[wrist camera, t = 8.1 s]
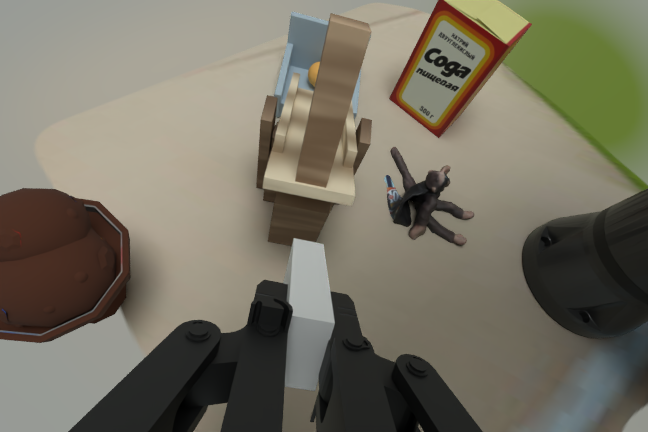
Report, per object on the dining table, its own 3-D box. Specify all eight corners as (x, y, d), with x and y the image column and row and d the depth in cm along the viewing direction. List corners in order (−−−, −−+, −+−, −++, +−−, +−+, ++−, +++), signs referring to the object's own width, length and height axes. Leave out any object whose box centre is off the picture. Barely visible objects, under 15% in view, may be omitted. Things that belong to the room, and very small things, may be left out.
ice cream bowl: (11, 273, 33) (-146, 194, 20) (135, 224, 37) (76, 133, 24) (44, 380, 30) (-115, 372, 17) (175, 313, 34) (132, 265, 21)
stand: (333, 253, 40) (366, 204, 30) (244, 237, 39) (244, 180, 28) (342, 174, 45) (372, 108, 35) (263, 157, 44) (270, 83, 33)
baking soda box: (389, 98, 53) (441, -6, 39) (412, 79, 56) (468, -24, 42) (438, 137, 52) (511, 43, 38) (459, 116, 55) (534, 21, 40)
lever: (351, 206, 27) (410, 43, 20) (262, 188, 26) (289, 10, 19) (345, 107, 43) (377, -5, 36) (288, 93, 42) (309, -24, 35)
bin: (348, 133, 48) (366, 90, 41) (272, 116, 47) (277, 68, 40) (354, 79, 53) (371, 32, 46) (285, 62, 52) (291, 11, 45)
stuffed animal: (453, 265, 42) (409, 186, 37) (391, 258, 50) (348, 192, 45) (491, 201, 47) (457, 125, 42) (429, 204, 55) (395, 140, 50)
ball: (324, 87, 52) (329, 62, 51) (333, 92, 49) (339, 66, 48) (302, 83, 51) (307, 57, 49) (310, 88, 48) (315, 60, 46)
